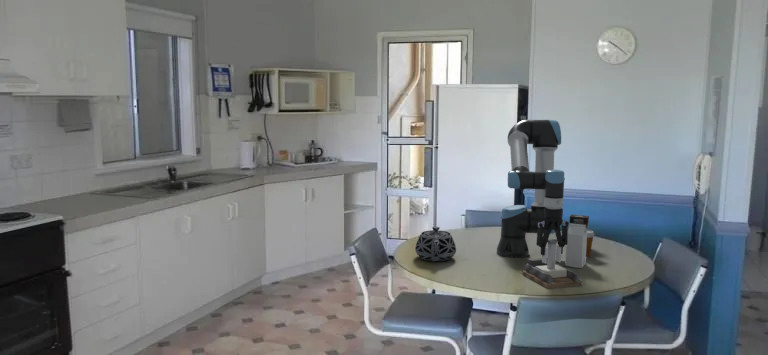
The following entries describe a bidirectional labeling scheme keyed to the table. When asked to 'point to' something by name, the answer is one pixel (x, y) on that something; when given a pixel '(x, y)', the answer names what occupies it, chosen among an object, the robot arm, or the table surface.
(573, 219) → the coffee box
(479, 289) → the table surface
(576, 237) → the milk carton
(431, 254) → the black lattice pot
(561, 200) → the robot arm
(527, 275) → the base
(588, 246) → the disposable coffee cup
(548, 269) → the white pillar stand
